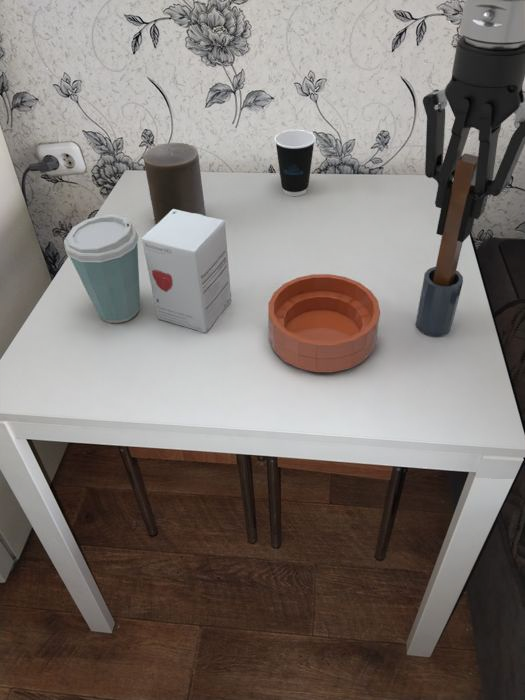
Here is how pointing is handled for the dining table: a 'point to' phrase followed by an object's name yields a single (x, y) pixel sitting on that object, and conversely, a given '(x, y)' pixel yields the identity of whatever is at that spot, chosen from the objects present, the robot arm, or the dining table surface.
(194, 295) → the rectangular carton
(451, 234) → the stirring stick
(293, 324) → the bowl
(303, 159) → the dixie cup
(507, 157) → the robot arm
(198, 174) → the pillar candle
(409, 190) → the dining table surface
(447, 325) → the gray pipe section
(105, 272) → the disposable coffee cup
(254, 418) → the dining table surface
